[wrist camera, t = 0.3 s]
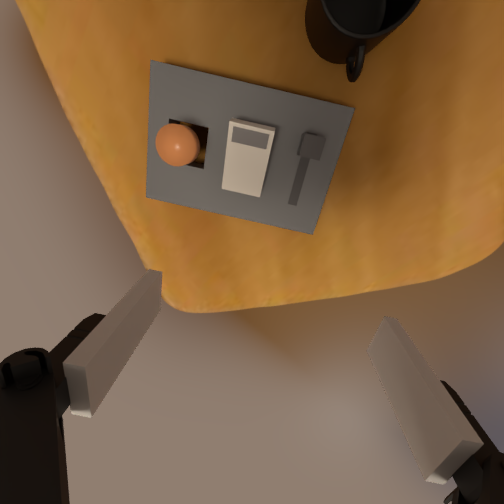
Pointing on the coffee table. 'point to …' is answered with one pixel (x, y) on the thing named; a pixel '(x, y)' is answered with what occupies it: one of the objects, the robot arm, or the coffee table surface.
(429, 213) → the coffee table surface
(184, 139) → the button
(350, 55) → the mug
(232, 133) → the rocker
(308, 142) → the slider
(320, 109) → the panel
